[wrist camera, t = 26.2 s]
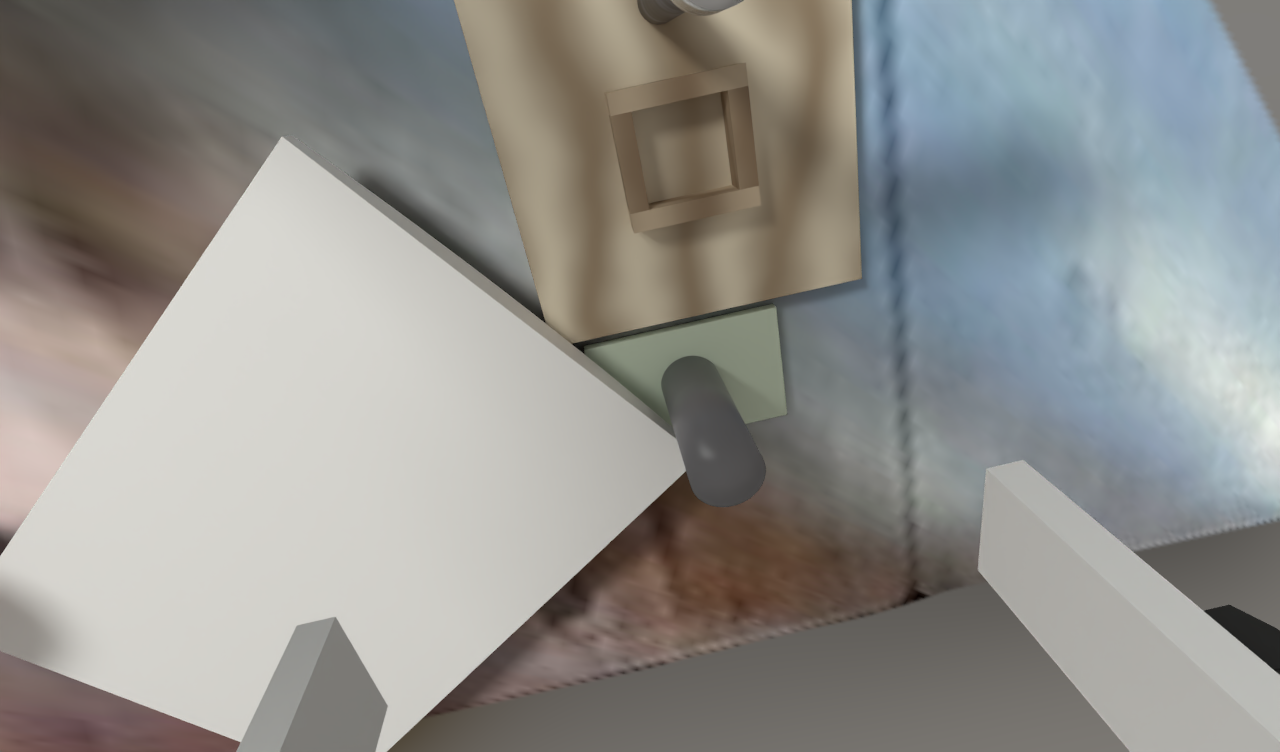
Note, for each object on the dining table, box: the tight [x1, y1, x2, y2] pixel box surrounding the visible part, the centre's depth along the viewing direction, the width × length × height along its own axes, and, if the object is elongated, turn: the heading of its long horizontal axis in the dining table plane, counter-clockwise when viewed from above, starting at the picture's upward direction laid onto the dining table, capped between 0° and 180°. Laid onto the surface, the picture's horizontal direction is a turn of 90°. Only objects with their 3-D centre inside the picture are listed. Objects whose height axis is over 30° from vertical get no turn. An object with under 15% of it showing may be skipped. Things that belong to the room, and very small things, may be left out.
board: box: [0, 135, 686, 752], centre depth 47 cm, size 45×32×5 cm
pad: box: [584, 304, 787, 427], centre depth 46 cm, size 14×9×1 cm, turn 101°
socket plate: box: [454, 0, 862, 344], centre depth 33 cm, size 22×22×14 cm
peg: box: [661, 356, 766, 507], centre depth 41 cm, size 4×4×12 cm
